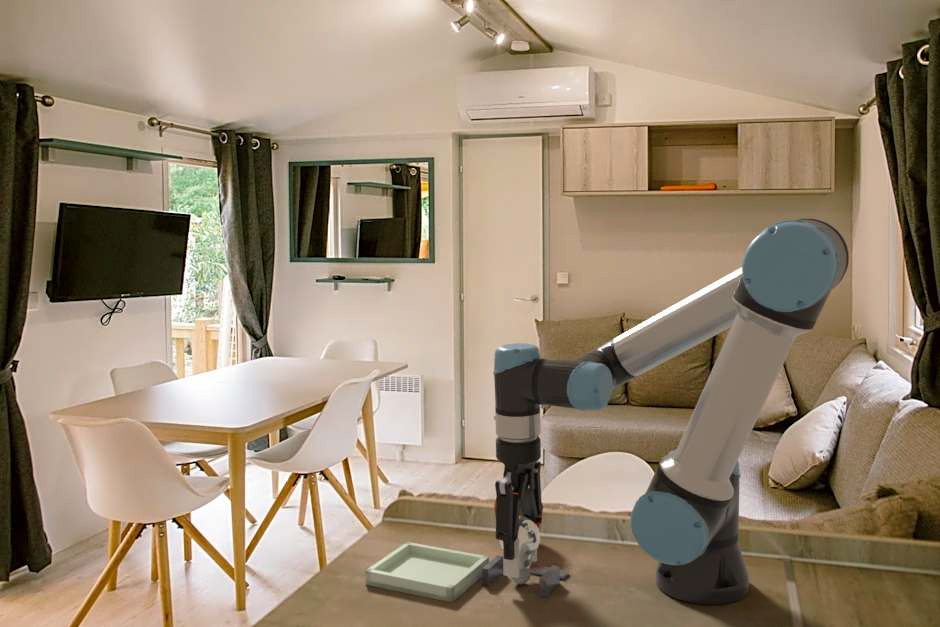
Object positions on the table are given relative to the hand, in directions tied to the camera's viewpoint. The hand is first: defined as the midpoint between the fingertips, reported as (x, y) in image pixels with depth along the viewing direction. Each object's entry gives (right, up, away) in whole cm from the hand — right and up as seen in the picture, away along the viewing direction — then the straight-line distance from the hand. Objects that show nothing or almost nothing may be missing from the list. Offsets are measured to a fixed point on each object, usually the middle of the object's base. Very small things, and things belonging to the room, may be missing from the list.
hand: (520, 567), depth 151 cm
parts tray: (-16, -3, +4) cm, 17 cm away
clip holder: (+1, -3, +2) cm, 4 cm away
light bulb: (0, -3, 0) cm, 3 cm away
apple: (+1, -1, +18) cm, 18 cm away
